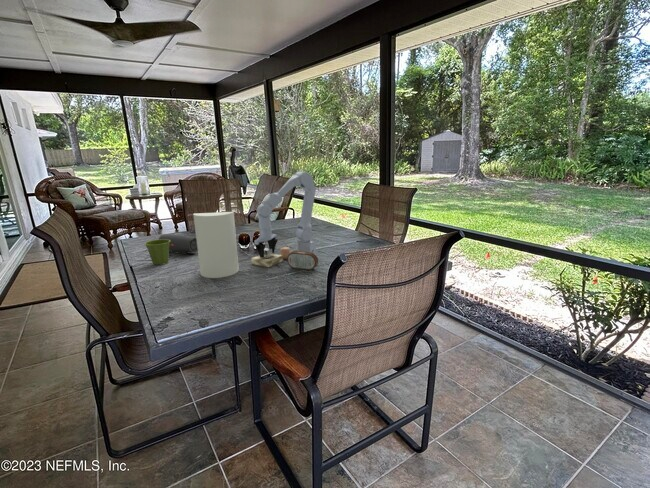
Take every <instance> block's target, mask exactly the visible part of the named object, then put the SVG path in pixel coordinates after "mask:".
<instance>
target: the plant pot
mask: <svg viewBox="0 0 650 488" xmlns="http://www.w3.org/2000/svg"><path fill="white" fill-rule="evenodd" d="M169 243H170V240H168V239H159V238H158V239H153V240H148V241H146V242H144V245H145V247H146V249H147V250H148V254H149V257H150V260H151V262H152V265H154V264H156V265H158V264H162V265H164V264H163V263H166V264H167V263H169V255H170V253H169V251H170V250H169Z"/></svg>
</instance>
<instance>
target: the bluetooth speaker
mask: <svg viewBox="0 0 650 488" xmlns="http://www.w3.org/2000/svg"><path fill="white" fill-rule="evenodd" d="M159 239H168V240H170V243H169V251H170V252H171V251H172V252H171V253H173V252H178V253H177V254H180V253H187V254H190V253H191V254H193V253H196V252H197V253H198V248H197V240H196V236H195V237H194V236H189V235H180V234H179V235H178V234H162V235H160V236H159V238H158V240H159Z"/></svg>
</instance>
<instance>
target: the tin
mask: <svg viewBox="0 0 650 488" xmlns="http://www.w3.org/2000/svg"><path fill="white" fill-rule="evenodd" d="M316 255H317V254H316ZM316 255H315V254H314V253H312V252H303V251H297V250H292V251H290V254H289V255H288V257H287V259H286V260H287V264H288V265H289V266H290V267H291V268H293V269H296V270H297V269H298V270H305V269H306V270H307V271H312V270H314V269H315V268H316V267H317V266H318V263H319V259H318V255H317V256H316Z"/></svg>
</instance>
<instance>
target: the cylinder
mask: <svg viewBox="0 0 650 488" xmlns="http://www.w3.org/2000/svg"><path fill="white" fill-rule="evenodd" d="M192 215H193V222H194V223H193V224H194V230H195V231H194V232H195V238H196V240H197V248H198V251H197V253H198V263H199V271H200V275H201V277H203V278H210V279H219V278H227V277H230V276H233V275H235V274H237V273H238V272H239V271H240V267H239V266H240V265H239V258H238V255H239V254H238V245H237V237H236V236H237V235H236V233H237V232H236V223H235V213H234V211H222V212H221V211H219V212H201V213H200V212H199V213H193V214H192Z"/></svg>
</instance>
